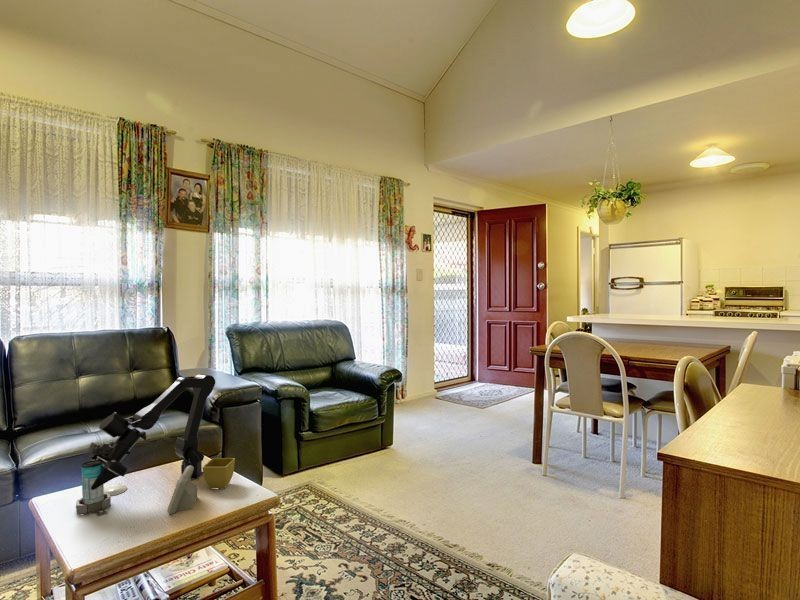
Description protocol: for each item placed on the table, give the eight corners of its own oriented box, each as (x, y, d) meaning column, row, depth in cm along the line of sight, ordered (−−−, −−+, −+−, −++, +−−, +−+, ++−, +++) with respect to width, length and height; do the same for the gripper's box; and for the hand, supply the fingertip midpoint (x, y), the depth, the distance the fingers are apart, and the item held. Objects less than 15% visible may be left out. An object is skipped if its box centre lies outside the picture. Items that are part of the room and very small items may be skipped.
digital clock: (179, 494, 166) (179, 464, 166) (205, 493, 167) (204, 463, 166) (157, 516, 150) (156, 483, 150) (185, 515, 150) (184, 482, 150)
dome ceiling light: (132, 486, 174) (132, 484, 174) (114, 497, 165) (114, 495, 165) (110, 485, 175) (110, 483, 175) (91, 495, 166) (91, 493, 166)
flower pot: (226, 491, 168) (226, 466, 168) (202, 491, 168) (201, 466, 168) (236, 481, 177) (235, 457, 176) (212, 481, 177) (212, 458, 177)
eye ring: (124, 502, 160) (124, 493, 160) (102, 516, 151) (101, 507, 150) (86, 500, 163) (85, 491, 162) (61, 513, 153) (61, 504, 153)
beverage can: (100, 502, 161) (99, 458, 160) (106, 507, 157) (105, 462, 157) (80, 508, 156) (78, 463, 156) (86, 514, 152) (84, 468, 152)
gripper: (94, 427, 165) (57, 468, 157) (115, 437, 153) (77, 482, 145) (119, 444, 171) (85, 484, 163) (142, 454, 160) (106, 498, 151)
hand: (88, 486), depth 155 cm, fingers closed on beverage can, 6 cm apart
